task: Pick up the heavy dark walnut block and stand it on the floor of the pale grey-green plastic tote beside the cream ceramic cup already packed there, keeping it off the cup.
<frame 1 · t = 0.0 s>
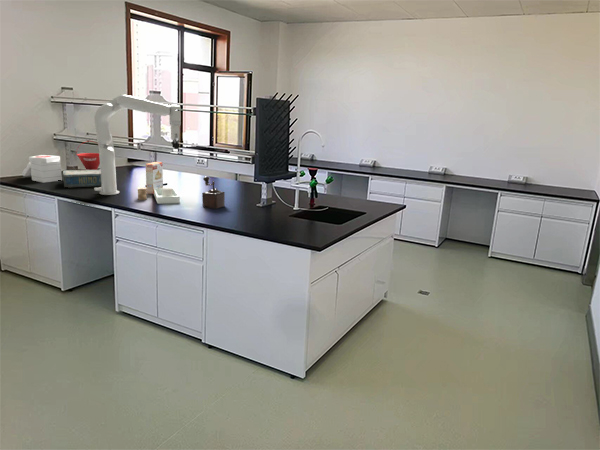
hand: (175, 148, 324), 31 cm above the countertop, tool pointing down, fingers open, 9 cm apart
walnut block: (142, 200, 300), on the countertop
pizza boxes: (42, 179, 355), on the countertop
fire bucket: (92, 178, 369), on the countertop
metal box: (88, 185, 344), on the countertop
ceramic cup: (167, 201, 297), point 1 cm above the countertop, touching tote
tote: (166, 199, 305), on the countertop
cracker box: (155, 192, 327), on the countertop
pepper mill: (210, 206, 293), on the countertop
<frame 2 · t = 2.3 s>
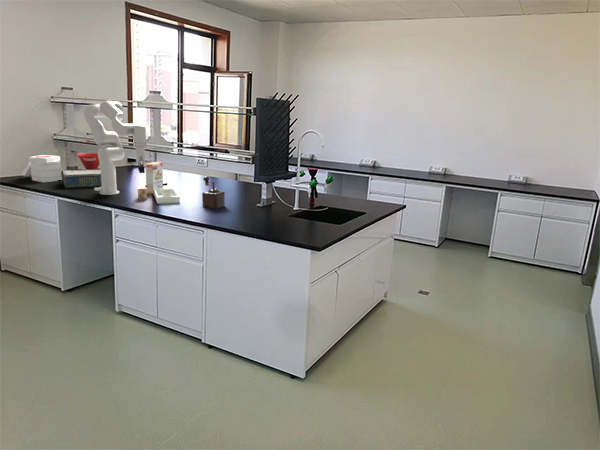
hand: (141, 171, 295), 19 cm above the countertop, tool pointing down, fingers open, 9 cm apart
nothing on the countertop moved.
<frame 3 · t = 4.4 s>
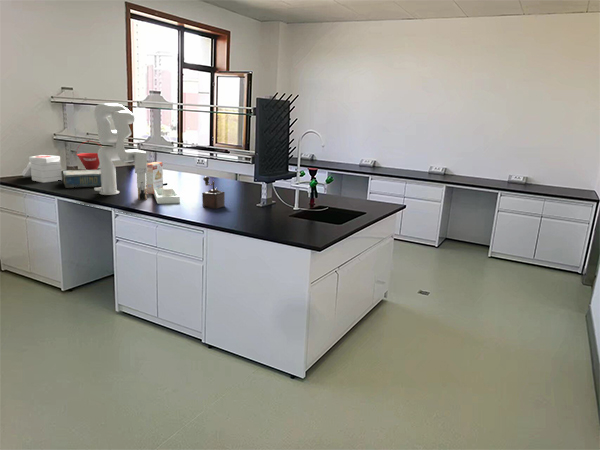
hand: (142, 198, 300), 1 cm above the countertop, tool pointing down, fingers closed on walnut block, 5 cm apart
walnut block: (142, 200, 300), on the countertop, touching gripper
everything else where it was.
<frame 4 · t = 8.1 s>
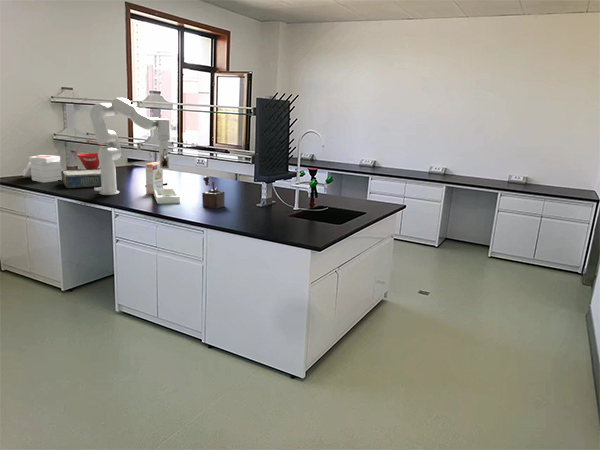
hand: (164, 165, 303), 22 cm above the countertop, tool pointing down, fingers closed on walnut block, 5 cm apart
walnut block: (164, 167, 304), point 21 cm above the countertop, touching gripper
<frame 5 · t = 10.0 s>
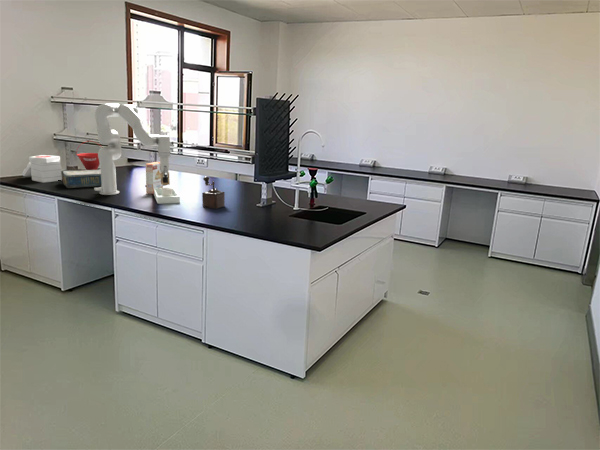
hand: (165, 181, 306), 11 cm above the countertop, tool pointing down, fingers closed on walnut block, 5 cm apart
walnut block: (165, 183, 307), point 10 cm above the countertop, touching gripper
when the fingers open (4 cm above the countertop, at t = 11.8 s): walnut block drops 1 cm, resting on tote.
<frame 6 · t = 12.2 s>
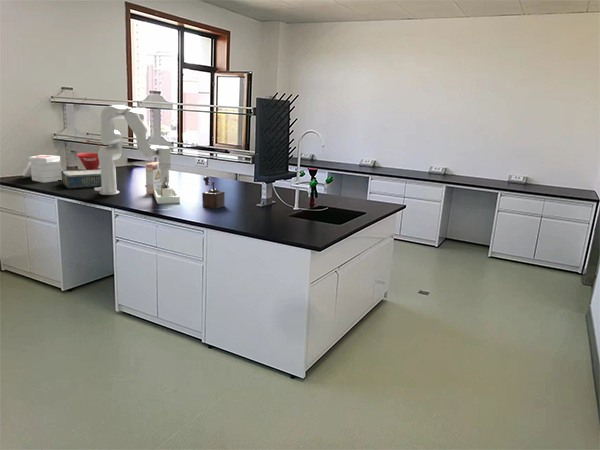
hand: (165, 191, 308), 5 cm above the countertop, tool pointing down, fingers open, 8 cm apart
walnut block: (165, 196, 309), point 1 cm above the countertop, touching tote
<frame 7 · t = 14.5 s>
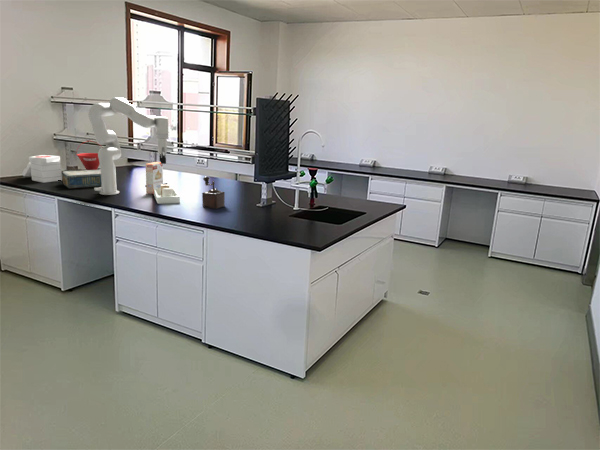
hand: (162, 162, 304), 24 cm above the countertop, tool pointing down, fingers open, 9 cm apart
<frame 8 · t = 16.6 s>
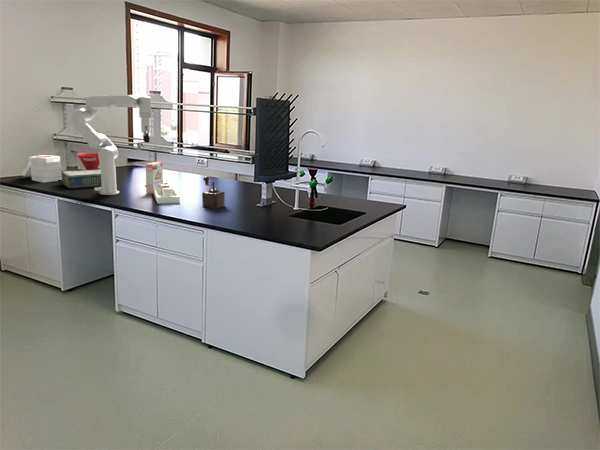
hand: (146, 141, 309), 36 cm above the countertop, tool pointing down, fingers open, 9 cm apart
at the end: walnut block inside the target area on the tote (0.4 cm from its centre), point 1.0 cm above the tote's base; walnut block tilted 0°; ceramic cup tilted 0° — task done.
